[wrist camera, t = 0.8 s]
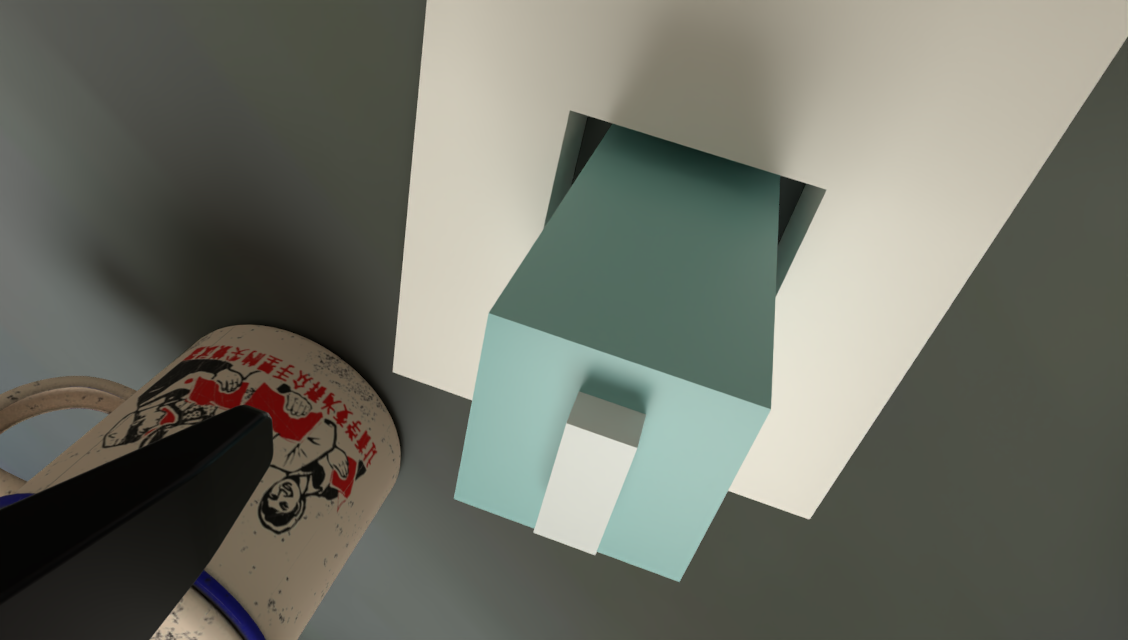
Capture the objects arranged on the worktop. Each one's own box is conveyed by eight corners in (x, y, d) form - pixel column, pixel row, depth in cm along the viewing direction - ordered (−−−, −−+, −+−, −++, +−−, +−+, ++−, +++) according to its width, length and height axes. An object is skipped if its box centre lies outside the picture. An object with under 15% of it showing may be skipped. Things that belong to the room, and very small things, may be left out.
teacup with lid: (444, 399, 24) (215, 761, 14) (375, 540, 29) (175, 871, 20) (119, 223, 23) (-338, 477, 14) (109, 399, 29) (-225, 669, 19)
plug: (780, 165, 17) (769, 445, 9) (722, 302, 19) (673, 618, 11) (617, 115, 17) (470, 341, 9) (580, 255, 19) (436, 531, 12)
